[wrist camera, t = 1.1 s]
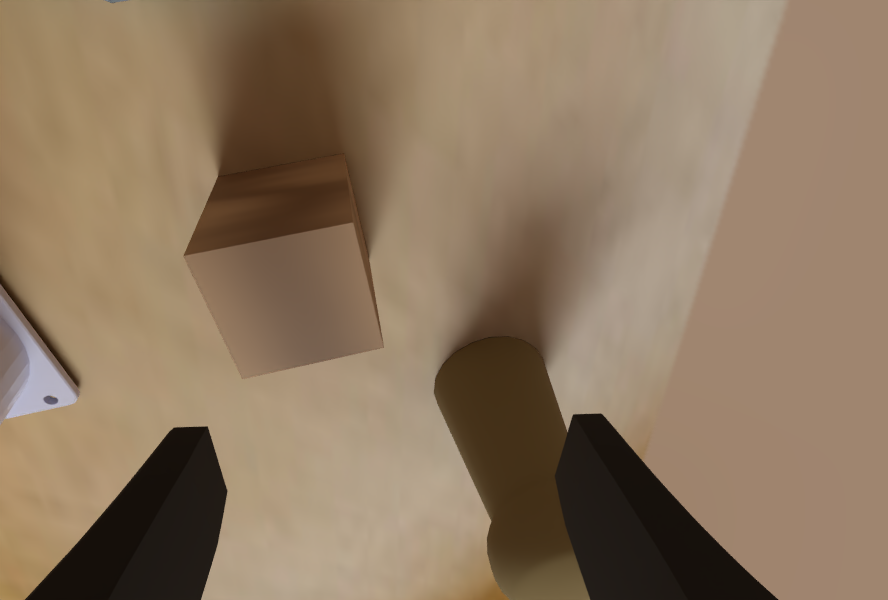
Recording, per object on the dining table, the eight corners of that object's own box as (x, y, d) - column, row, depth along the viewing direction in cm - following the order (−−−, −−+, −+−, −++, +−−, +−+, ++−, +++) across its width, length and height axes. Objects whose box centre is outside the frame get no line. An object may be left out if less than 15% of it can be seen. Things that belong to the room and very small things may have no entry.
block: (259, 281, 21) (242, 379, 16) (218, 176, 19) (183, 256, 14) (368, 258, 22) (383, 347, 17) (344, 152, 19) (353, 222, 14)
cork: (502, 315, 25) (605, 520, 16) (564, 377, 28) (678, 575, 19) (409, 387, 26) (456, 612, 17) (479, 437, 30) (548, 648, 21)
